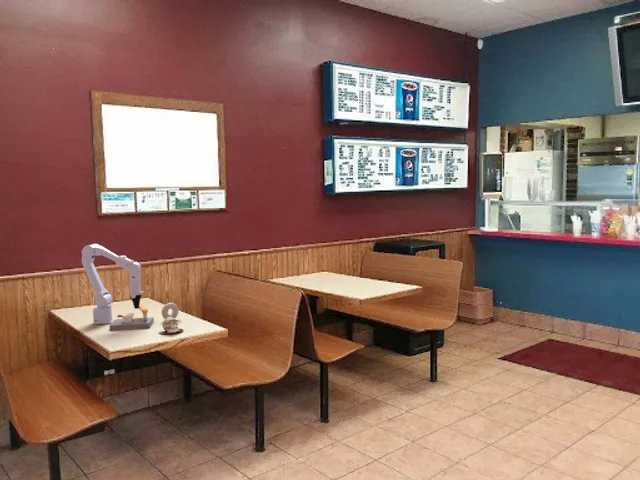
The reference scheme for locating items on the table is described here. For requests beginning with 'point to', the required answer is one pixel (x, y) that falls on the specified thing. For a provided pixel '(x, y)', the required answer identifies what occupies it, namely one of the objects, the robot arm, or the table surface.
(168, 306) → the donut
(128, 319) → the plug
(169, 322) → the skull
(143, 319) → the socket block
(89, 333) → the table surface
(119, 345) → the table surface
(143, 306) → the orange paddle handle
